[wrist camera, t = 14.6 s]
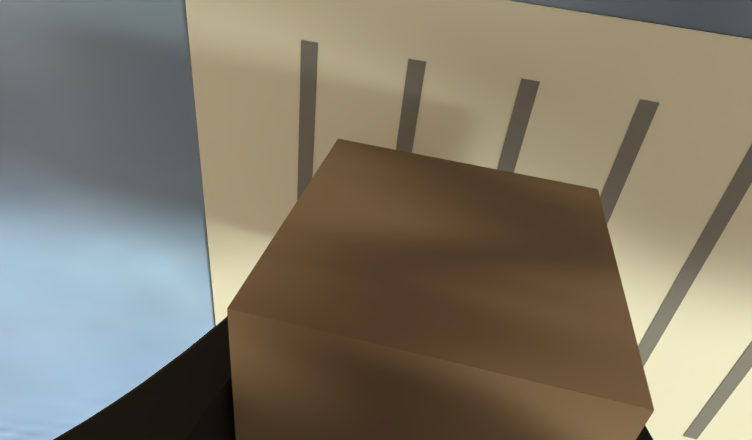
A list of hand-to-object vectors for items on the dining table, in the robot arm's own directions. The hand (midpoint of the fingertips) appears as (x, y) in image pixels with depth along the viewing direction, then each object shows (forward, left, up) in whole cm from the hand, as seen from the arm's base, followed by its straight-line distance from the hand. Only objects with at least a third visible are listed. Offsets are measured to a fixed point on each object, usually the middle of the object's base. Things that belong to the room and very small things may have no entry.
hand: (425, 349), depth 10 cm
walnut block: (0, -1, -2) cm, 2 cm away
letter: (-2, +1, -5) cm, 5 cm away
